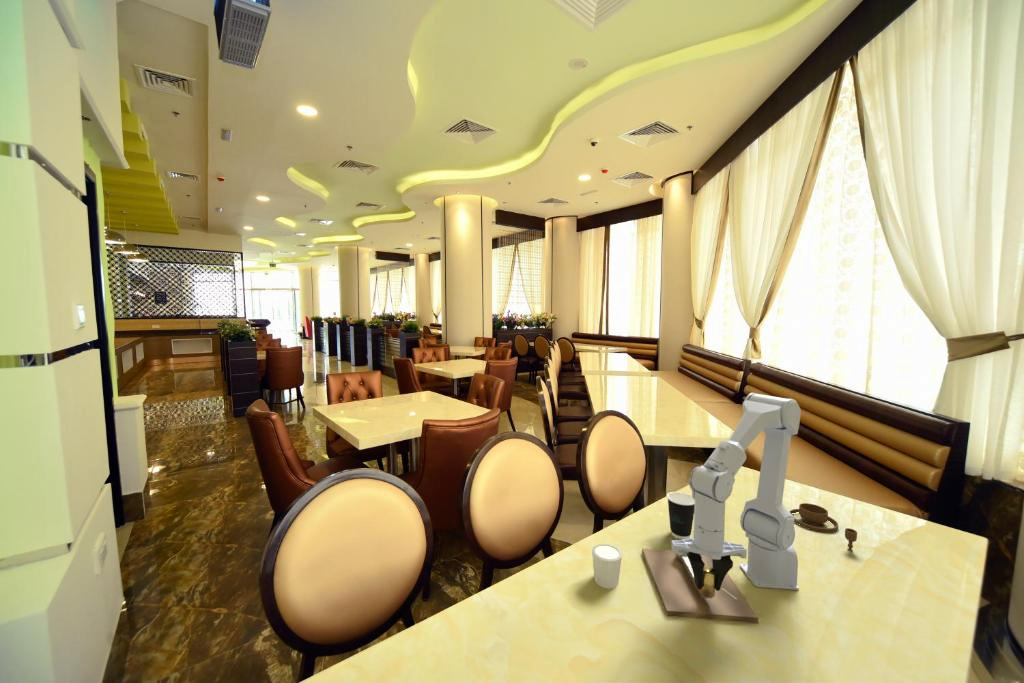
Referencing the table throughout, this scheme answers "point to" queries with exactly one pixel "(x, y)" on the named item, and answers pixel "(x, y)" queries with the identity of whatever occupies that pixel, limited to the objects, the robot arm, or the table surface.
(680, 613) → the bench base
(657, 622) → the table surface
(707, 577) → the lever
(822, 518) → the place setting
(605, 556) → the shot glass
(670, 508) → the dixie cup
